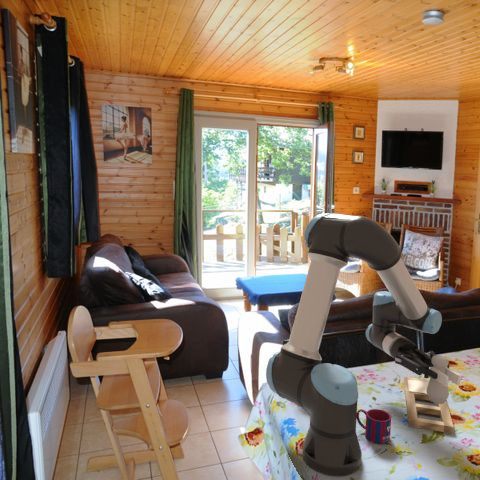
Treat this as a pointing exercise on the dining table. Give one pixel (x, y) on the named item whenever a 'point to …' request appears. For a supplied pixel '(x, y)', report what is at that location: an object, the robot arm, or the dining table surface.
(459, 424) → the dining table surface
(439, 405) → the wooden slotted tray
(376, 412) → the mug
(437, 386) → the salt shaker
